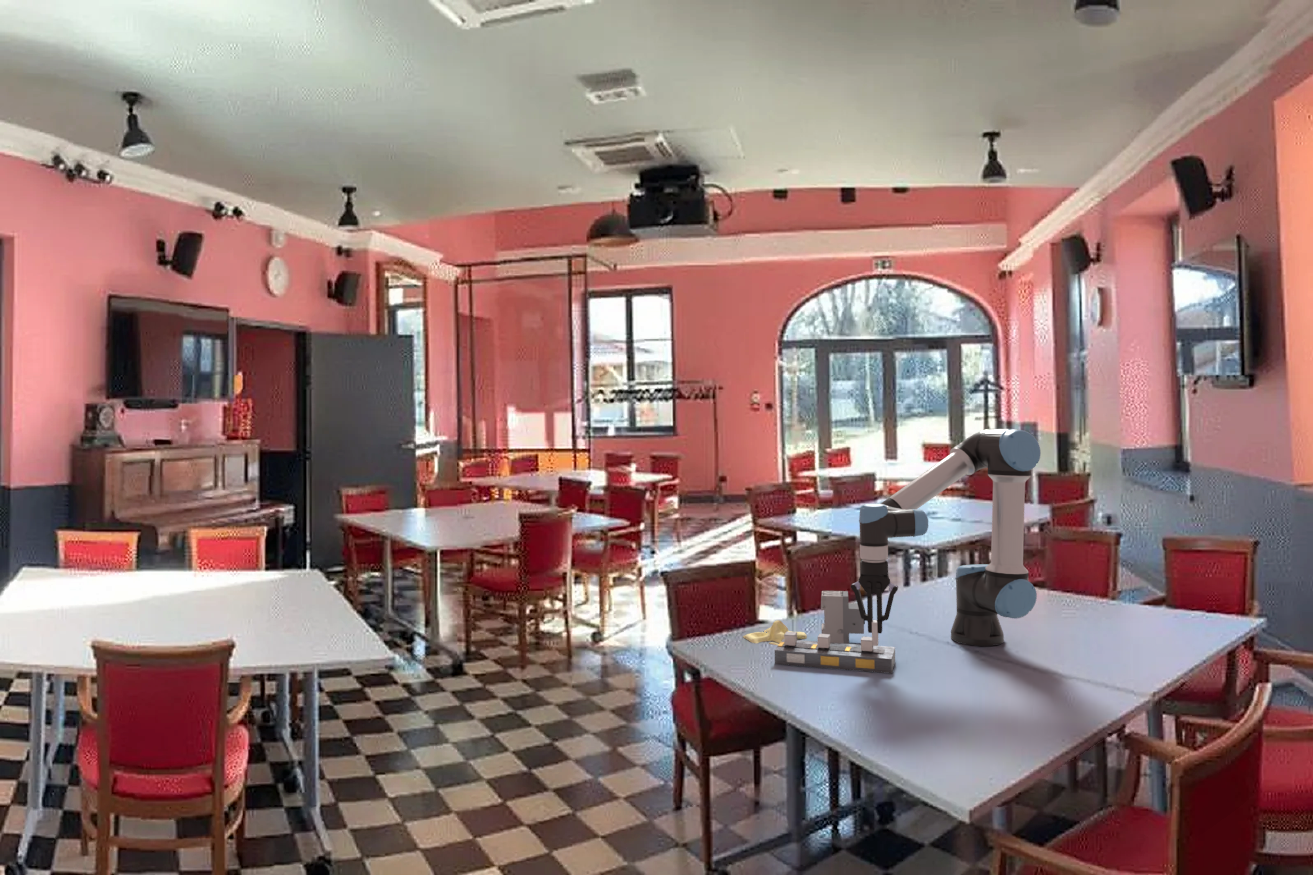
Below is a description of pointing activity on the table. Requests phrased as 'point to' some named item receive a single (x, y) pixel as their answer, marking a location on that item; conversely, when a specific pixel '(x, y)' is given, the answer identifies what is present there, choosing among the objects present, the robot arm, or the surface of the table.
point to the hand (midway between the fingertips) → (875, 644)
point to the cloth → (772, 634)
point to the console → (836, 656)
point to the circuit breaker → (840, 616)
